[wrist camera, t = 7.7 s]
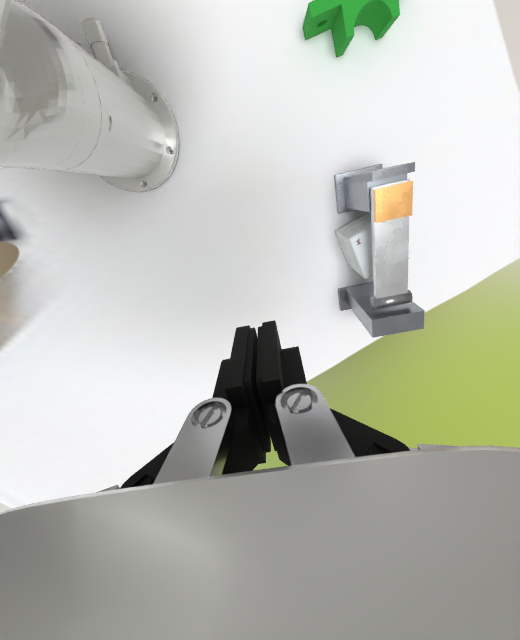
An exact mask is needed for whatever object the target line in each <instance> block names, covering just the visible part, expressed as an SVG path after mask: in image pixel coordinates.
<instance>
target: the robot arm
mask: <svg viewBox="0 0 520 640" xmlns="http://www.w3.org/2000/svg"><path fill="white" fill-rule="evenodd" d="M82 26H83V29H84V32H85V35H86V37H87V40H88V43H89V45H90V48H91V49H92V51H93V54H94V56H95V58H94V57H93V56H91V55H90V54H89V53H87V52H86V51H85V50H84V48H83V46H82V45H81V44H79V43H75V42H74V41H72V40H71V39H70V38H69V37H67V36H66V35H65V34H63V33H62V32H61V31H60V30H59V29H57V28H56V27H55V26H54V25H52V24H51V23H50V22H48V21H47V20H46V19H44V18H43V17H42V16H40V15H39V14H38V13H36V12H35V11H33V10H31V9H30V8H28V7H27V6H25V5H23V4H21V3H19V2H17V1H15V0H0V168H5V167H19V168H33V169H45V170H55V171H64V172H74V173H84V174H94V175H99V176H101V177H102V178H103V179H104V180H106V181H107V182H108V183H110V184H112V185H114V186H116V187H117V188H120V189H123V190H127V191H134V192H142V191H148V190H151V189H154V188H156V187H158V186H160V185H161V184H162V183H163V182H165V181H166V180H167V178H168V177H169V176H170V175H171V173H172V171H173V169H174V167H175V165H176V162H177V158H178V152H179V134H178V130H177V125H176V122H175V119H174V116H173V114H172V111H171V110H170V108H169V106H168V104H167V102H166V101H165V100H164V98H163V97H162V96H161V94H160V93H159V92H158V91H157V90H156V89H155V88H154V87H153V86H152V85H151V84H149V83H148V82H147V81H146V80H144V79H143V78H141V77H139V76H138V75H136V74H134V73H131V72H128V71H124V70H120V68H119V65H118V62H117V61H116V60H115V59H113V58H112V55H111V53H110V50H109V44H108V41H107V38H106V35H105V32H104V29H103V26H102V23H101V22H100V21H99V20H97V19H91V18H90V19H85V20H84V21H83V22H82ZM156 97H157V101H156V102H155V100H154V99H155V98H156ZM171 150H173V151H174V153H173V154H171V152H170V151H171ZM145 182H146V183H147V186H145ZM270 436H271V439H272V443H273V446H274V450H275V451H277V453H278V456H279V459H280V460H281V461H282V462H284V463H285V464H286V465H288V466H284V467H277V468H269V469H262V470H254V471H253V469H254V468H255V467H256V466H257V465H258V464H261V463H266V452H270V451H271V439H270ZM0 640H520V448H516V447H502V446H445V445H429V444H418V448H408V447H407V446H406V445H405V444H403V443H402V442H400V441H398V440H397V439H395V438H392V437H390V436H388V435H386V434H384V433H382V432H380V431H378V430H375V429H373V428H371V427H369V426H367V425H365V424H363V423H360V422H358V421H356V420H354V419H352V418H350V417H348V416H345V415H343V414H341V413H339V412H337V411H335V410H332V409H330V408H329V406H328V405H327V403H326V401H325V399H324V397H323V395H322V393H321V392H320V391H319V390H318V389H317V388H315V387H314V386H311V385H308V384H307V383H306V378H305V374H304V370H303V365H302V361H301V356H300V352H299V347H292V348H287V349H281V345H280V340H279V336H278V331H277V326H276V322H275V321H269V322H264V323H262V326H261V327H258V338H257V334H256V330H255V328H250V326H243V327H238V328H236V332H235V337H234V342H233V347H232V352H231V357H230V359H226V360H222V362H221V366H220V370H219V374H218V378H217V382H216V386H215V390H214V394H213V398H211V399H208V400H205V401H203V402H201V403H199V404H198V405H196V406H195V407H194V408H193V409H192V410H191V412H190V413H189V415H188V417H187V419H186V420H185V422H184V424H183V426H182V428H181V430H180V432H179V434H178V436H177V438H176V440H175V442H174V443H173V444H171V445H170V446H169V447H168V448H166V449H165V450H164V451H162V452H161V453H160V454H159V455H157V456H156V457H155V458H154V459H152V460H151V461H150V462H149V463H147V464H146V465H145V466H144V467H142V468H141V469H140V470H138V471H137V472H136V473H135V474H133V475H132V476H131V477H130V478H129V479H128V480H127V481H126V482H125V483H124V484H123V485H122V486H121V488H119V486H118V485H116V486H113V487H110V488H107V489H105V490H102V491H99V492H96V493H90V494H83V495H77V496H71V497H65V498H59V499H54V500H49V501H43V502H38V503H33V504H29V505H25V506H21V507H17V508H13V509H10V510H7V511H4V512H1V513H0Z"/></svg>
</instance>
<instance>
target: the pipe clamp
mask: <svg viewBox="0 0 520 640" xmlns="http://www.w3.org/2000/svg"><path fill="white" fill-rule="evenodd" d="M399 15H400V11H399V0H314V1H312V2H310V3H309V4H308V8H307V12H306V16H305V20H304V25H303V31H304V36H305V40H307V39H309V38H311V37H314V36H316V35H318V34H320V33H322V32H325V31H327V30H329V29H332V35H333V41H334V47H335V53H336V58H337V57H339V56H341V55H343V53H344V52H345V50H346V48H347V47H348V45H349V43H350V41H351V40H352V38H353V36H354V27H356V26H359V25H365V26H367V27H369V28H370V29H371V30H372V32H373V33H374V36H375V40H377V39H380V38H382V37H383V36H384V34H385V33H386V32H387V30H388V29H389V28H390V27H391V25H392V24H393V23H394V21H395V20H396V19H397V18H398V16H399Z"/></svg>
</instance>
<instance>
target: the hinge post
mask: <svg viewBox="0 0 520 640" xmlns="http://www.w3.org/2000/svg"><path fill="white" fill-rule="evenodd" d="M338 294H339V304H340V310H341V311H342V310H347V309H352V311H353V312H354V313H355V315H356V316H357V317H358V319H359V320H360V321H361V323H362V324H363V325H364V327H365V328H366V329H367V331H368V332H369V333H370V335H371V336H372V337H378V336H384V335H389V334H395V333H401V332H406V331H412V330H418V329H423V328H424V310H423V309H422V308H420V307H419V306H418V305H416V304H415V303H414V302H411V303H407V304H401V305H396V306H391V307H385V308H380V309H375V310H373V309H372V308H371V305H370V297H373V296H374V282H370V283H365V284H360V285H355V286H350V287H345V288H340V289H338Z"/></svg>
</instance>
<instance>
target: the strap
mask: <svg viewBox="0 0 520 640" xmlns="http://www.w3.org/2000/svg"><path fill="white" fill-rule="evenodd" d="M412 195H413V181H410V179H405V180H401V181H396V182H392V183H388V184H383V185H379V186H375V187H371V188H370V196H371V224H372V252H373V280H374V296H373V297H370V305H371V308H372V309H373V310H375V309H380V308H385V307H391V306H396V305H401V304H407V303H411V302H412V294H411V292H410V290H407V288H408V243H409V216H410V215H412Z"/></svg>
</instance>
